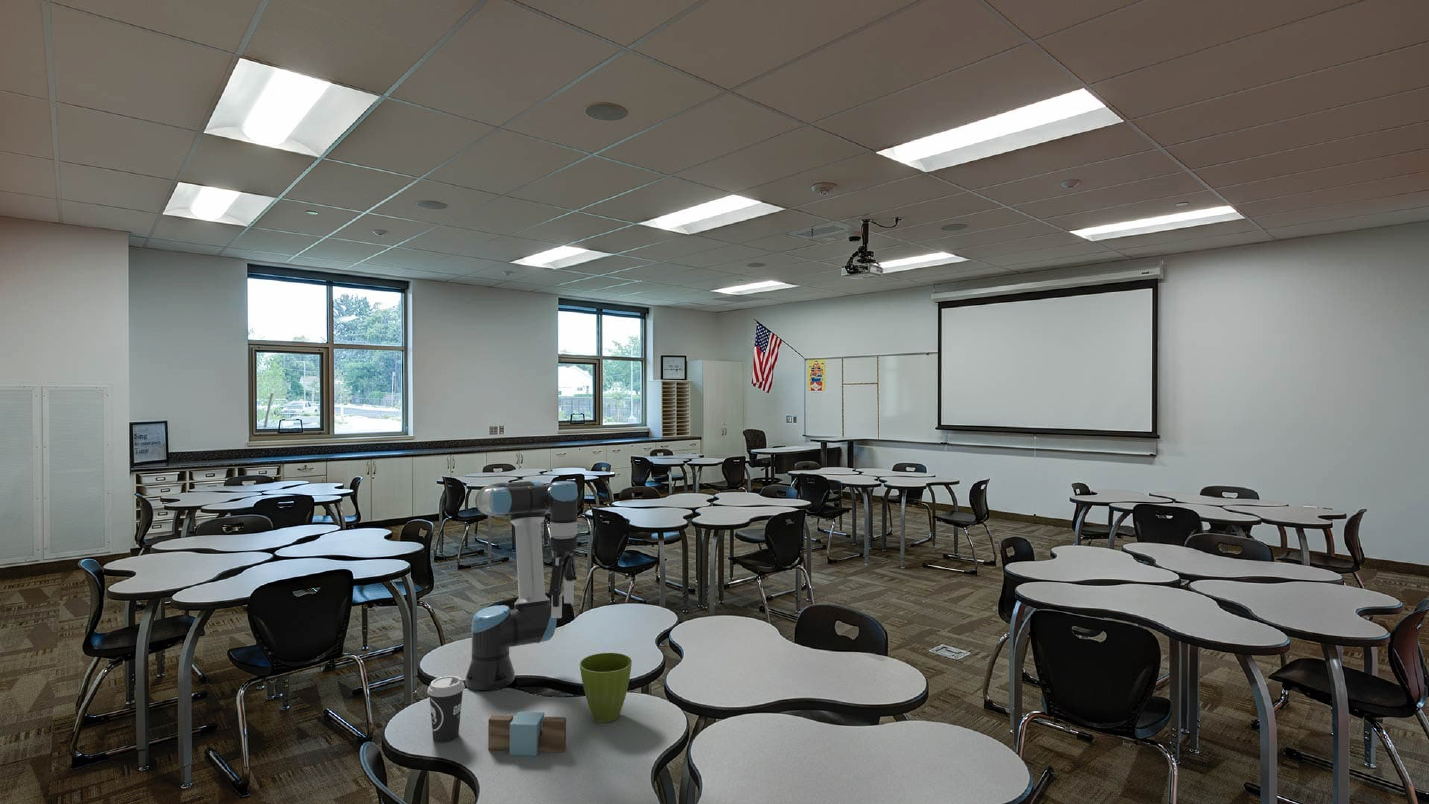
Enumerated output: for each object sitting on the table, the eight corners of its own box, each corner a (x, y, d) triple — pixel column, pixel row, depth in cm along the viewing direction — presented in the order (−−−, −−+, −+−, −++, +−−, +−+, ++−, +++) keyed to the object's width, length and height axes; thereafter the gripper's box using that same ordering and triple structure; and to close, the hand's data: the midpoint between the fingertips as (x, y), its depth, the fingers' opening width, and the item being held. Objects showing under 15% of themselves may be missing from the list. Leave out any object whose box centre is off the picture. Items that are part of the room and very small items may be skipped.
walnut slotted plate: (491, 745, 182) (491, 715, 182) (566, 747, 181) (566, 717, 181) (488, 749, 179) (488, 719, 179) (563, 752, 179) (564, 721, 179)
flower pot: (569, 723, 194) (569, 667, 194) (596, 701, 208) (597, 649, 208) (614, 733, 189) (615, 675, 189) (640, 710, 203) (640, 656, 203)
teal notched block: (518, 741, 184) (518, 711, 184) (544, 742, 184) (544, 712, 184) (509, 754, 177) (509, 724, 177) (536, 755, 177) (536, 725, 177)
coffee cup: (451, 747, 180) (452, 690, 180) (419, 743, 182) (419, 687, 182) (471, 730, 190) (471, 676, 190) (440, 726, 192) (440, 673, 192)
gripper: (561, 527, 208) (561, 597, 208) (537, 545, 183) (537, 624, 183) (586, 528, 208) (585, 597, 208) (565, 545, 183) (564, 624, 183)
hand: (562, 610), depth 196 cm, fingers open, 13 cm apart
